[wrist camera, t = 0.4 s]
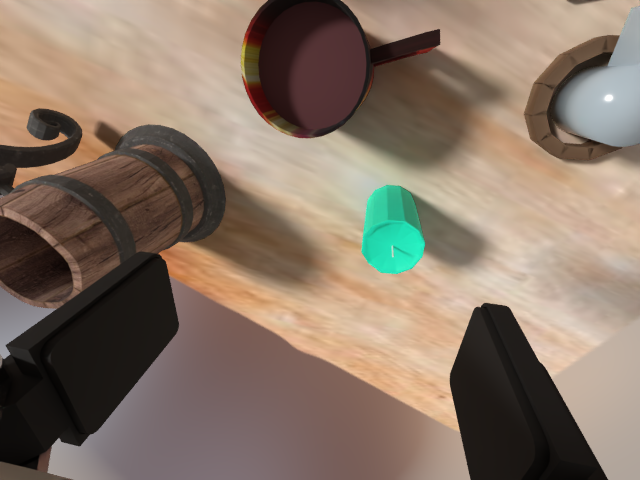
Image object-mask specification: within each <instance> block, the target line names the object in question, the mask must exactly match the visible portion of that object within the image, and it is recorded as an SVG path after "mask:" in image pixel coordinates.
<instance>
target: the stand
mask: <svg viewBox="0 0 640 480" xmlns="http://www.w3.org/2000/svg"><path fill="white" fill-rule="evenodd" d="M619 37H620V36H614V35H607V36H601V37H596V38H593V39H591V40H589V41H587V42H584V43H582V44H580V45H578V46H576V47H574V48H572V49H570V50H568V51H566V52H564V53H562V54H560V55H559V56H558V57H557V58H556V59H555V60H554V61H553V62H552V63H551V64H550V66H549V67H548V68H547V69H546V70H545V71H544V72H543V73H542V74H541V76H540V77H539V78H538V79H537V80H536V81H535V82H534V83H535V84H533V87H532V90H531V93H530V97H529V100H528V103H527V106H526V109H525V112H524V113H525V114H524V115H525V119H526V123H527V127H528V131H529V135H530V139H531V140H532V141H534V142H535V143H536V144H538V145H539V146H540V147H542V148H543V149H544V150H545V151H547V152H548V153H549V154H551V155H553V156H556V157H558V158H565V159H579V160H591V159H594V158H597V157H599V156H602V155H605V154H607V153H610V152H613V151H616V150H618V149H621V148H623V147H616V146H611V145H607V144H604V143H601V142H597V141H594V140H590V141H588V142H585V143H583V144H570V143H562V142H561V141H560V140H558V139H557V138H556V137H555V136H553V135H552V134H551V132H550V128H549V123H548V119H547V115H546V111H547V109H548V106H549V103H550V100H551V97H552V94H553V91H554V89H555V87H556V86H557V85H558V84H559V83H560V82H561V81H562V80H563V78H564V77H565V76H566V75H567V74H568V73H569V72H570V71H571V70H572V69H573V68H574V67H575V66H576V65H578V64H580V63H582V62H584V61H586V60H588V59H590V58H593V57H595V56H597V55H599V54H601V53H602V54H613V51H614V49H615V47H616V44H617V42H618V39H619Z"/></svg>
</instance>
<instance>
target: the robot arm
mask: <svg viewBox="0 0 640 480" xmlns="http://www.w3.org/2000/svg"><path fill="white" fill-rule="evenodd" d="M178 327H179V322H178V317H177V312H176V307H175V303H174V298H173V293H172V288H171V283H170V279H169V274H168V269H167V264H166V261H165V260H163V259H162V257H161V256H160V255H159V254H156V253H149V252H143V251H140V252H137V253H135V254H134V255H133V256H131V257H130V258H128V259H127V260H126V261H124V262H123V263H121V264H120V265H119V266H117V267H116V268H114V269H113V270H111V271H110V272H109V273H107V274H106V275H104V276H103V277H102V278H100V279H99V280H97V281H96V282H94V283H93V284H92V285H90V286H89V287H87V288H86V289H85V290H83V291H82V292H80V293H79V294H78V295H76V296H75V297H73V298H72V299H70V300H69V301H68V302H66V303H65V304H63V305H62V306H61V307H59V308H58V309H56V310H55V311H54V312H52V313H51V314H49V315H48V316H46V317H45V318H44V319H42V320H41V321H39V322H38V323H37V324H35V325H34V326H32V327H31V328H29V329H28V330H27V331H25V332H24V333H22V334H21V335H20V336H18V337H17V338H15V339H14V340H13V341H11V342H10V343H9V344H7V345H6V347H7V349H8V350H9V352H10V354H11V355H9V356H8V357H7V358H5V359H3V358H2V356H1V355H0V480H72V479H68V478H64V477H60V476H57V475H53V474H49V473H47V471H48V466H49V459H50V453H51V448H52V447H51V446H52V445H53V444H54V442H55V441H56V440H57V439H58V438H60V439H61V442H64V443H68V444H72V445H76V446H81V444H82V443H83V442H84V441H85V440H86V439H87V437H88V436H89V435H90V434H93V433H95V432H96V431H97V430H98V429H99V428H100V427H101V426H102V425H103V424H104V422H105V421H106V420H107V419H108V417H109V416H110V415H111V414H112V412H113V411H114V410H115V409H116V407H117V406H118V405H119V404H120V403H121V401H122V400H123V399H124V397H125V396H126V395H127V394H128V393H129V391H130V390H131V389H132V388H133V387H134V385H135V384H136V383H137V382H138V380H139V379H140V378H141V377H142V375H143V374H144V373H145V372H146V370H147V369H148V368H149V367H150V366H151V364H152V363H153V362H154V361H155V359H156V358H157V357H158V356H159V354H160V353H161V352H162V351H163V349H164V348H165V347H166V346H167V344H168V343H169V342H170V341H171V340H172V338H173V337H174V336H175V335H176V333H177V331H178ZM450 387H451V392H452V396H453V401H454V405H455V410H456V415H457V419H458V424H459V428H460V433H461V437H462V442H463V447H464V451H465V456H466V460H467V465H468V470H469V474H470V479H471V480H608V479H607V477H606V475H605V473H604V472H603V470H602V468H601V466H600V464H599V463H598V461H597V459H596V457H595V455H594V454H593V452H592V450H591V448H590V447H589V445H588V443H587V441H586V440H585V438H584V436H583V434H582V432H581V431H580V429H579V427H578V425H577V423H576V422H575V420H574V418H573V416H572V415H571V413H570V411H569V409H568V407H567V406H566V404H565V402H564V400H563V398H562V397H561V395H560V393H559V391H558V389H557V388H556V386H555V384H554V382H553V381H552V379H551V377H550V375H549V373H548V372H547V370H546V368H545V367H544V366H543V364H541V363H540V362H539V361H538V359H537V357H536V355H535V353H534V351H533V350H532V348H531V346H530V344H529V342H528V341H527V339H526V337H525V335H524V333H523V331H522V330H521V328H520V326H519V324H518V322H517V321H516V319H515V317H514V315H513V313H512V311H511V310H510V308H509V307H507V306H503V305H497V304H490V303H484V304H483V305H482V306H481V307H476V308H475V309H474V311H473V313H472V316H471V319H470V321H469V324H468V327H467V330H466V332H465V335H464V338H463V340H462V343H461V346H460V349H459V351H458V354H457V357H456V359H455V362H454V365H453V367H452V370H451V373H450Z"/></svg>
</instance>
